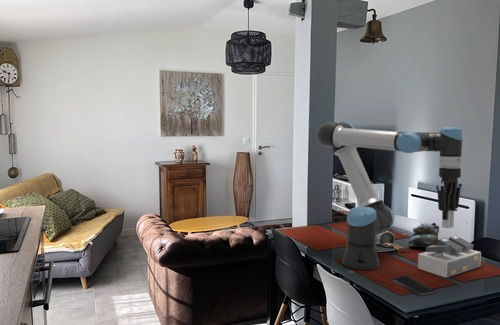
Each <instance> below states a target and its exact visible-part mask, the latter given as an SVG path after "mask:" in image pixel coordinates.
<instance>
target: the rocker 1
mask: <svg viewBox="0 0 500 325" xmlns="http://www.w3.org/2000/svg"><path fill="white" fill-rule="evenodd" d="M425 250H426V251H425V252H447V251H451V250H452V245H434V246H429V247H425Z"/></svg>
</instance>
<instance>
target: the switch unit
mask: <svg viewBox="0 0 500 325" xmlns="http://www.w3.org/2000/svg"><path fill="white" fill-rule="evenodd" d="M417 255H418V257H417V269H419V270H422V271H425V272H427V273H430V274H434V275H437V276H439V277H443V278H449V277H452V276H455V275H457V274H458V275H459V274H461V273H464V272H467V271H470V270H474V269H477V268H479V267H481V261H482V260H481V259H482V252H481V251H478V250H474V249H471V250H468V251H464V250H463V251H462V252H461V253H457V254H454V253H452V252H450V251H447V252H427V251H424V252H421V253H418V254H417Z"/></svg>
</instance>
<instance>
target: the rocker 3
mask: <svg viewBox="0 0 500 325" xmlns="http://www.w3.org/2000/svg"><path fill="white" fill-rule="evenodd" d="M448 240H450V241H452V242H454V243H456V244H458V245H459V246H461V247H463V250H464V251H468V250H474V247H475V246H474V245H475V244H473V243H471V242H469V241H467V240H465V239H463V238H461V237H460V236H458V235H453V236H449V237H448Z"/></svg>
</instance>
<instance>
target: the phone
mask: <svg viewBox="0 0 500 325" xmlns="http://www.w3.org/2000/svg"><path fill="white" fill-rule="evenodd" d="M391 282H393V283H394V284H396V285H398V286H400V287H402V288H403V289H404V290H407V291H409V292H411V293H412V294H413V295H416V296H418V297H423V296H424V297H425V296H430V295H435V294H436V293H437V290H435V289H434V288H432V287H430V286H428V285H426V284H425V283H422V282H420V281H418V280H416V279H414V278H412V277H410V276H406V275H404V276H398V277H392V278H391Z"/></svg>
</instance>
